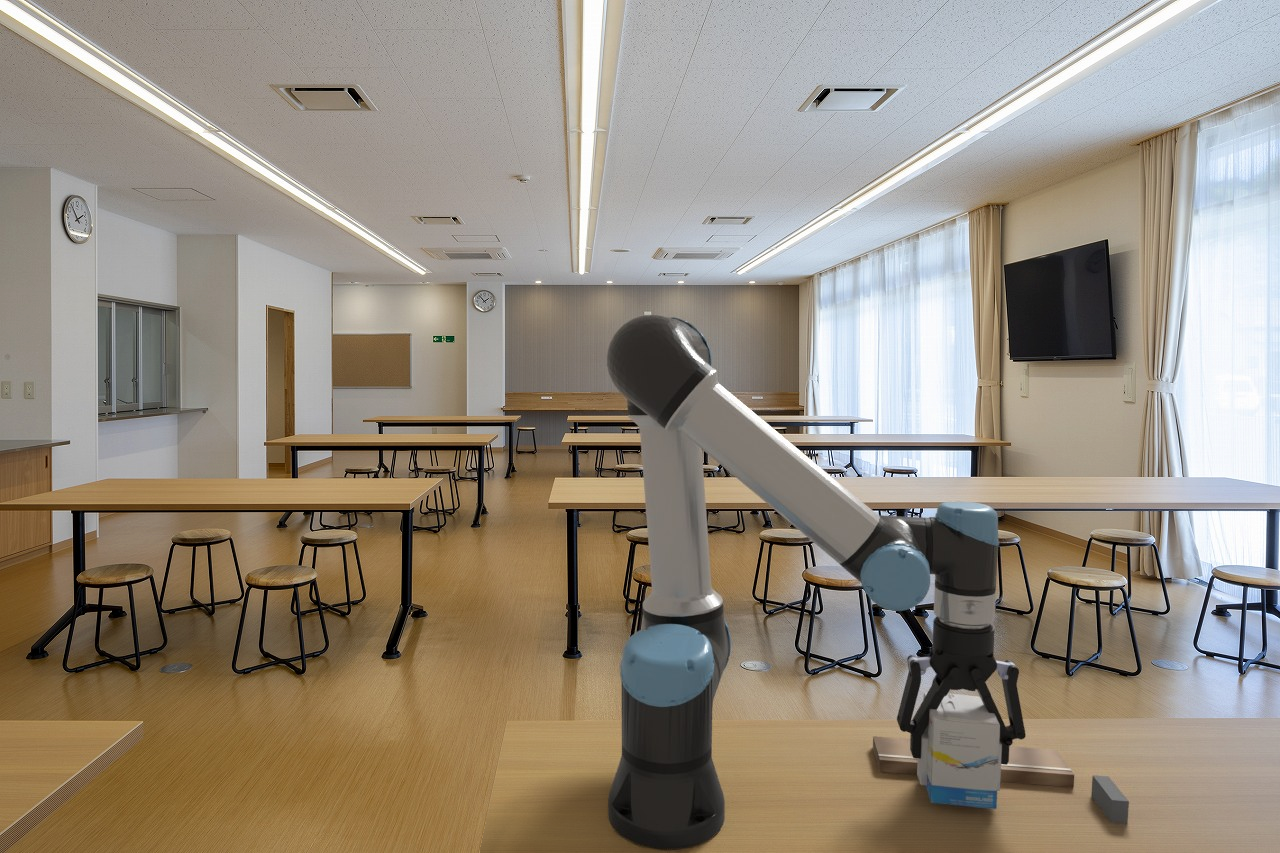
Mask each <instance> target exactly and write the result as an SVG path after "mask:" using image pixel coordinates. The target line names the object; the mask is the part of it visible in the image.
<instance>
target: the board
mask: <svg viewBox="0 0 1280 853" xmlns="http://www.w3.org/2000/svg"><path fill="white" fill-rule="evenodd" d="M872 751H873V754H874V757H875V760H876V764H877V768H878V771H879V773H890V774H891V773H892V774H903V775H916V776H917V761H918V758H913V756H912V753H911V750H910V738H901V737H891V736H890V737H887V736H877V735H876V736H874V735H873V736H872ZM1000 782H1001V783H1004V782H1005V783H1014V784H1016V783H1017V784H1018V783H1019V784H1030V785H1041V786H1053V787H1066V788H1067V787H1068V788H1074V787H1075V773H1074V772H1073V770H1072V769H1071V768H1070V766H1068V764H1067V763H1066V762H1065V760H1064V758H1063V757H1062V756H1061V754H1060V753H1059V751H1058V750H1057V749H1054V748H1053V749H1052V748H1038V747H1025V746H1023V747H1022V746H1012V745H1010V746H1009V762H1008V764H1007V765H1005V764H1001V777H1000Z"/></svg>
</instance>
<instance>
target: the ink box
mask: <svg viewBox="0 0 1280 853" xmlns="http://www.w3.org/2000/svg"><path fill="white" fill-rule="evenodd" d="M927 693H928V691H924V692H923V696H922V697H923V700H924V698H925V696H926V695H927ZM923 700H922V701H923ZM925 732H926V735H927V737H928V755H927V785H924V786H925V788H926V792H927V794H928V797H929V801H930V803H931V804H942V805H951V806H958V807H959V806H962V807H970V808H980V809H981V808H982V809H989V810H990V809H992V810H996V809H997V807H998V805H997V803H998V801H997V800H998V791H997V784H998V758H999V737H1000V724H999V722H998V720H997V718H996V716H995V714H994V713H989V712H988V711H987V709H986V707H985V706H984V704H983V702H982V700H981V698H980V696H976V695H967V694H958V693H950V692H948V694H947V696H945V697H944V698H943V700H942V701H941V703H940V705H939V707H938V708H937V710H935V709H930V713H929V724H928V726H927V728H926V730H925Z"/></svg>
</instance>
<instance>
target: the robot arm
mask: <svg viewBox="0 0 1280 853" xmlns="http://www.w3.org/2000/svg"><path fill="white" fill-rule="evenodd" d="M712 359H713V358H712V352H711V348H710V346H709V344H708V341H707V340H706V338H705V336H704V334H702V332H700V330H699V329H698V328H697V327H696V326H694V325H693V324H692V323H690V322H688V321H686V320H683V319H682V318H679V317H674V316H673V317H669V316H663V315H657V314H644V315H640V316H636V317H635V318H632V319H630V320H628V321H627V322H625V323H623V325H622V326H621V327H619V328H618V329H617V331H616V332H615V333H614V335H613V337H612V338H611V341H610V342H609V344H608V348H607V355H606V367H607V371H608V375H609V377H610V380H611V382H612V383H613V385H614V387H615V388H616V389H617V391H618V392H619V393H620V394H621V395H622V396H623V397H624V398H625V399H626V404H627V405H626V406H627V416H628V418H629V419H630V420H632V421H633V423H635V424H636V426H638V429H639V432H640V434H639V436H640V450H641V462H642V474H643V476H642V477H643V487H644V502H645V513H646V514H645V515H646V526H647V528H646V529H647V539H648V552H649V566H650V579H651V580H650V581H651V592H650V593H649V595H648V596H647V597H646V598H645V599H644V600H643V602H642V613H643V614H642V615H643V628H644V629H640V630H637V631H635V633H633V634H632V635H631V636H630V637H629V638H628V639H627V640H626V642H625V644H624V646H623V650H622V654H621V655H622V656H621V660H620V666H619V668H620V669H619V670H620V673H619V675H620V680H621V757H620V759H619V764H618V766H617V768H616V771H615V772H616V773H615V775H614V778H613V781H612V784H611V787H610V790H609V794H608V798H607V799H608V800H607V804H608V805H607V810H608V811H607V816H608V817H607V818H608V820H609V823H610V825H611V827H612V829H613V830H614V831H615V832H616V833H617V834H618V835H620V836H621V837H622V838H624V839H625V840H627V841H630V842H632V843H634V844H635V845H639V846H643V847H646V848H651V849H656V850H657V849H658V850H679V849H686V848H691V847H695V846H697V845H700V844H702V843H705V842H707V841H708V840H710V839H712V838H713V837H714V836H716V835H717V834H718V833H719V831H720V830H721V829H722V827H723V825H724V822H725V819H726V818H725V813H726V811H725V810H726V808H725V806H726V801H725V795H724V792H723V789H722V787H721V783H720V780H719V779H720V778H719V776H718V773H717V770H716V768H715V764H714V761H713V757H712V756H713V754H712V751H713V749H712V748H713V747H712V745H713V744H712V743H713V705H714V699H715V696H716V695H717V691H718V687H719V684H720V682H721V679H722V677H723V673H724V671H725V669H726V667H727V665H728V663H729V660H730V656H731V649H732V641H731V640H732V639H731V638H732V637H731V633H730V629H729V626H728V624H727V622H726V619H725V612H724V600H723V596H722V595H721V594H719V593H718V592H717V591H715V589H713V587H712V579H711V578H712V575H711V564H710V563H711V562H710V560H711V559H710V548H709V547H710V546H709V532H708V520H707V507H706V506H707V504H706V491H705V490H706V489H705V478H704V477H705V475H704V474H705V473H704V462H703V451H704V452H705V453H706V454H707V455H708V456H709V457H711V458H712V459H713V460H715V461H716V462H717V463H718V464H719V465H721V466H722V468H724V469H725V470H726V471H728V472H729V473H730V474H731V475H732V476H733V477H734V478H736V479H737V480H738V481H740V482H741V483H742V484H743V485H744V486H745V487H747V488H748V489H749V490H750V491H752V492H753V493H754V494H755V495H757V497H759V498H760V499H761V500H762V501H764V502H765V503H766V504H767V505H768V506H770V507H771V509H773V510H774V511H776V512H777V513H778V514H779V515H781V517H783V518H784V519H785V520H786V521H787V522H789V523H790V524H791V525H792V526H793V527H795V528H796V529H797V530H799V532H801V533H802V534H803V535H804V536H805V537H806V538H808V539H809V540H810V541H811V542H812V543H814V544H815V545H816V546H817V547H818V548H820V549H821V550H822V551H823V552H824V553H826V554H827V555H828V556H829V557H831V559H833V560H834V561H835V562H836V563H838V565H840V566H841V567H842V568H843V569H844V570H845V571H846V572H848V573H849V574H850V575H851V576H853V577H854V578H855V579H856V580H857V581H858V582H859V583H860V584H861V587H862V588H863V590H864V591H865V594H866V595H867V596H868V597H869V598H868V599H870V600H871V601H872V602H873V603H874V604H876V605H877V606H879V607H880V608H883V609H885V610H888V611H894V612H901V611H902V612H903V611H907V610H910V609H912V608H914V607H916V606H917V605H919V604H920V603H921V602H923V601H924V599H925V598H926V596H927V594H928V593H929V590H930V585H931V575H934V595H933V598H934V599H933V614H934V615H935V617H934V618H933V623H932V646H931V647H932V649H931V650H930V653H929V654H928V656H922V657H916V656H915V655H914V654H910V655H908V656H907V660H906V661H907V667H908V674H907V677H906V681H905V684H904V689H903V693H902V696H901V700H900V704H899V709H898V713H897V716H896V721H897V724H898V727H899V730H900V731H901V732H903V733H905V732H907V733H909V734H910V738H909V739H910V750H911V753H912V756H913V758H918V761H917V775H916V776H917V779H918V781H919V783H920V785H921V786H925V785H927V755H928V737H927V735H926V732H925V730H926V728H927V726H928V724H929V713H930V709H935V710H937V708H938V707H939V705H940V703H941V701H942V700H943V698H944V697H945V696H947V694H948V693H950V690H951V691H959V690H966V691H969V692H977V693H978V695H979V697H980V698H981V700H982V702H983V704H984V706H985V707H986V709H987V711H988V712H989V713H994V714H995V716H996V718H997V720H998V722H999V724H1000V737H999V758H998V784H997V792H1000V791H1001V781H1000V777H1001V764H1005V765H1007V764H1008V762H1009V746H1012V745H1013V743H1014V740H1016V739H1018V740H1024V739H1026V735H1027V734H1026V729H1025V724H1024V723H1025V722H1024V717H1023V712H1022V707H1021V702H1020V697H1019V691H1018V685H1017V684H1018V679H1019V674H1020V670H1019V668H1018V667H1017V666H1016V664H1015V663H1014V662H1013V661H1012V660H1011V659H1007V660H1005V661H1001V660H996V659H995V657H994V656H995V655H994V651H995V650H994V649H995V629H996V628H995V625H994V624H993V622H994V621H995V620H996V597H997V596H996V595H997V593H996V592H997V591H996V590H997V574H998V573H997V572H998V558H999V557H998V556H999V546H1000V541H999V516H998V515H999V514H998V512H997V511H996V510H995V509H994V508H993V507H992V506H991V505H990V506H989V505H987V504H984V503H979V502H974V501H973V502H972V501H964V500H963V501H959V500H956V501H945V502H942V503H940V504H939V505H938V506H937V509H936V513H935V516H929V517H919V516H917V517H916V516H915V517H914V516H901V515H900V516H897V515H879V514H878V513H876V512H875V511H874V510H873V509H872V508H870V507H869V506H868V505H867V504H866V503H864V502H863V501H861V500H860V499H859V498H858V497H857V496H856V495H854V493H852V492H851V491H850V490H849V489H847V488H846V487H845V486H844V485H842V484H841V483H840V482H839V481H838V480H837V479H835V478H834V477H833V476H831V474H829V473H828V472H827V471H826V470H824V469H823V468H822V467H821V466H819V464H817V463H815V461H814V460H812V459H811V458H809V456H807V455H806V454H805V453H804V452H802V451H801V450H800V449H799V448H797V447H796V446H795V445H794V444H793V443H791V442H790V441H789V440H788V439H787V438H785V436H783V435H782V434H781V433H779V431H777V430H776V429H775V428H773V427H772V426H771V425H770V424H769V423H768V422H767V421H765V420H763V419H762V417H760V416H759V415H757V414H756V413H755V412H754V411H753V410H752V409H750V407H748V406H747V405H746V404H744V403H743V402H742V401H741V400H740V399H738V397H736V396H734V394H732V392H730V391H728V390H727V389H726V388H725V387H724V386H723V385H721V384H720V382H719V375H718V371H717V369H715V368H714V367H712ZM930 667H931V668H932V670H933V672H934V673H935V676H934V678H933V680H932V683H931V686H930V687H929V689H928V690H927V695H926V696H925V698H924V700H922V702H921V703H920V705H919V707H918V708H917V710H916V712H915V714H914V711H915V707H916V703H917V700H918V699H917V698H918V696H919V692H920V687H921V683H922V676H924V675H925V674H926V673H927V669H928V668H930ZM995 671H997V675H998V676H999V677H1000V678H1001V683H1002V688H1003V694H1004V700H1005V705H1006V711H1007V717H1008V723H1009V725H1006V724H1005V722H1004V720H1003V718H1002V716H1001V714H1000V712H999V709H998V707H997V705H996V703H995V701H994V699H993V697H992V694H991V691H990V689H989V688H988V685H987V683H986V682H987V681H988V680H989V679H990V677H991V676H992V675H993V674H994V673H995ZM913 715H914V716H913ZM912 717H913V718H912Z"/></svg>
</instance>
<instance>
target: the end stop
mask: <svg viewBox="0 0 1280 853" xmlns="http://www.w3.org/2000/svg"><path fill="white" fill-rule="evenodd" d="M1091 777H1092V778H1091V779H1092V780H1091V798H1092V799H1093V800H1094V802H1095V803H1096V805H1097V806H1098V808H1099V809H1100V810H1101V811H1102V813H1103V814H1104V815H1105V817H1106V818H1107V819H1108V821H1109V822H1110V823H1114V824H1125V825H1126V824H1129V823H1128V822H1129V820H1128V819H1129V808H1130V807H1129V804H1130V802H1129V800H1128V799H1127V796H1125V794H1123V792H1122V791H1121V790H1120V788H1119V787H1118V786H1117V785H1116V784H1115V782H1114V781H1113V780H1112V779H1111V778H1110V776H1108V775H1094V774H1093V775H1092V776H1091Z"/></svg>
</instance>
